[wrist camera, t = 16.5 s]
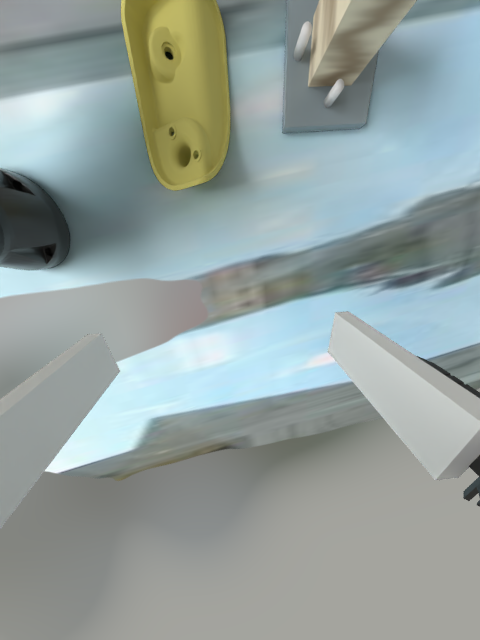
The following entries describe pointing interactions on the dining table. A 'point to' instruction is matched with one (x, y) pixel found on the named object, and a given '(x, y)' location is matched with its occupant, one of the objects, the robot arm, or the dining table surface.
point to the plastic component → (180, 86)
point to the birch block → (350, 36)
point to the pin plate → (325, 101)
